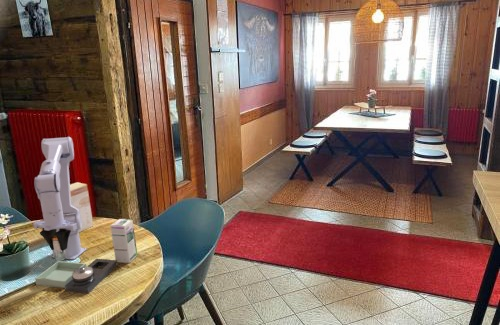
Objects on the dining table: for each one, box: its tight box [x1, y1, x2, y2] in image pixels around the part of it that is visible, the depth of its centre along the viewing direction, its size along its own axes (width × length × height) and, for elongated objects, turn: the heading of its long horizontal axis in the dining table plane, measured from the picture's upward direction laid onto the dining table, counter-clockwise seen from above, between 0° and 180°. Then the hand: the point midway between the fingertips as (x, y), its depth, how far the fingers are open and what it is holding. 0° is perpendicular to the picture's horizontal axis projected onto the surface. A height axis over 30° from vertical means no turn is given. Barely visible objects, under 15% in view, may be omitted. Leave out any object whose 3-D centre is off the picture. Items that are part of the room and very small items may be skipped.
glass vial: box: [52, 235, 67, 262], centre depth 126 cm, size 3×3×8 cm
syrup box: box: [109, 218, 138, 264], centre depth 138 cm, size 6×6×14 cm
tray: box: [34, 260, 87, 289], centre depth 128 cm, size 11×11×2 cm
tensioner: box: [64, 258, 118, 294], centre depth 127 cm, size 8×17×6 cm, turn 168°
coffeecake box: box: [64, 181, 94, 233], centre depth 161 cm, size 15×7×20 cm, turn 150°
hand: (59, 249), depth 126 cm, fingers closed on glass vial, 3 cm apart
